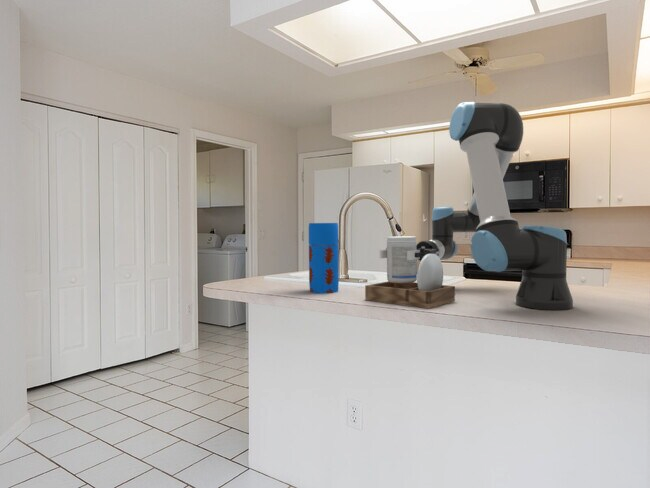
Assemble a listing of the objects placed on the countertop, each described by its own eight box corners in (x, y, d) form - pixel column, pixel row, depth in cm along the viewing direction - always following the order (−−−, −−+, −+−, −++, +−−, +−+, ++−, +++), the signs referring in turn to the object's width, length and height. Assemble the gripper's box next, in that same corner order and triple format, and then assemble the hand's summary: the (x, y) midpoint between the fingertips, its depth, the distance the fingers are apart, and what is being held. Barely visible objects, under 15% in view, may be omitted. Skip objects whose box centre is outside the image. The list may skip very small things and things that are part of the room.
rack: (454, 301, 140) (454, 286, 140) (429, 308, 129) (429, 292, 128) (393, 293, 156) (393, 280, 156) (365, 299, 144) (365, 285, 144)
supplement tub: (422, 282, 144) (423, 236, 143) (401, 284, 139) (401, 237, 138) (402, 278, 152) (402, 235, 151) (380, 281, 147) (380, 236, 146)
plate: (443, 296, 142) (443, 252, 141) (420, 302, 132) (420, 255, 131) (439, 296, 143) (439, 252, 142) (417, 302, 132) (417, 254, 132)
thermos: (316, 294, 157) (315, 223, 156) (304, 290, 167) (304, 223, 166) (343, 292, 162) (343, 222, 161) (331, 288, 171) (330, 223, 170)
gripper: (458, 263, 151) (425, 269, 134) (402, 259, 166) (366, 264, 149) (458, 241, 151) (425, 244, 134) (402, 239, 166) (365, 242, 149)
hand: (394, 254), depth 142 cm, fingers closed on supplement tub, 9 cm apart
